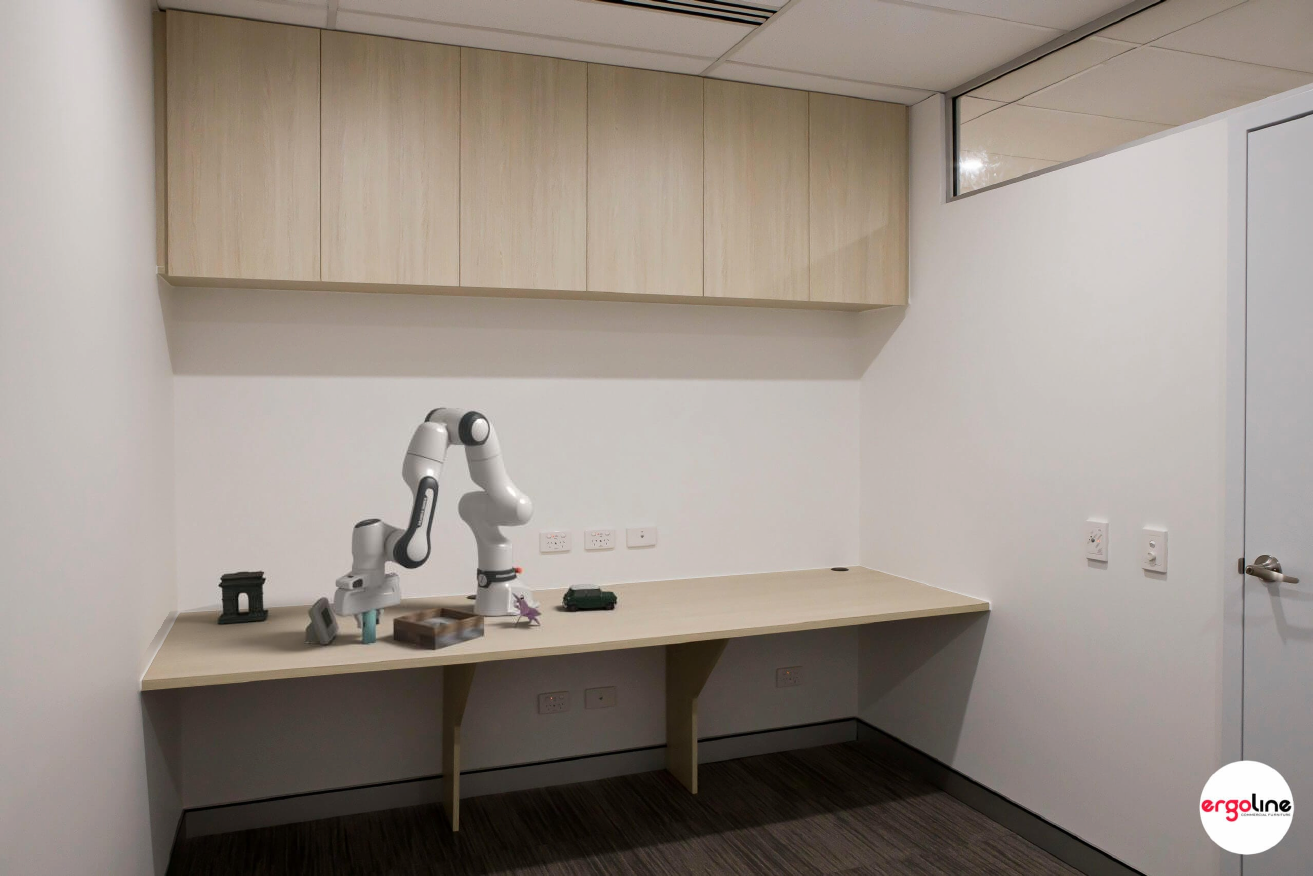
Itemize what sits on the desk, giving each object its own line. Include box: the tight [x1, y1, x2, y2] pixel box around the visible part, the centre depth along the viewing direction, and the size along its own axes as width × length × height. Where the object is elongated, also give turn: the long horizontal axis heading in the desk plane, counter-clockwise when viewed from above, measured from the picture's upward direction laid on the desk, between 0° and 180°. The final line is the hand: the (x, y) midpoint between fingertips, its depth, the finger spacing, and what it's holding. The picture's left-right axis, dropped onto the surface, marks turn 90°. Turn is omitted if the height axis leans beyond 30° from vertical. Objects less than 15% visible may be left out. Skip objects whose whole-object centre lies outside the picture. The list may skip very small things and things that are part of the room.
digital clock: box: [305, 596, 340, 645], centre depth 248 cm, size 16×9×11 cm, turn 178°
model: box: [217, 570, 269, 625], centre depth 269 cm, size 14×9×15 cm, turn 112°
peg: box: [361, 609, 377, 645], centre depth 244 cm, size 4×4×10 cm
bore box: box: [392, 606, 485, 651], centre depth 250 cm, size 18×18×6 cm
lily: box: [512, 593, 542, 629], centre depth 263 cm, size 12×12×10 cm
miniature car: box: [562, 583, 618, 613], centre depth 287 cm, size 9×18×8 cm, turn 102°
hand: (368, 626), depth 244 cm, fingers closed on peg, 4 cm apart
